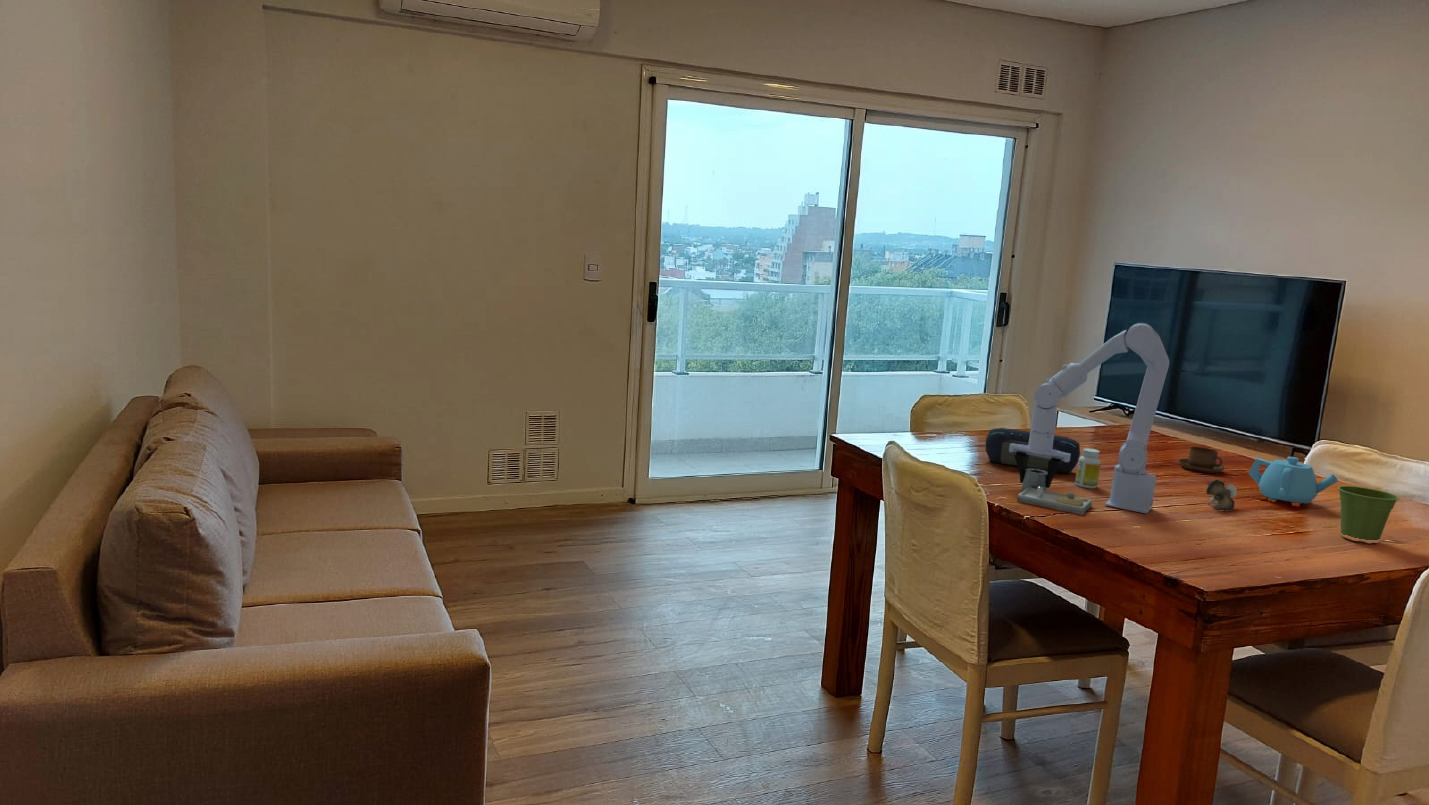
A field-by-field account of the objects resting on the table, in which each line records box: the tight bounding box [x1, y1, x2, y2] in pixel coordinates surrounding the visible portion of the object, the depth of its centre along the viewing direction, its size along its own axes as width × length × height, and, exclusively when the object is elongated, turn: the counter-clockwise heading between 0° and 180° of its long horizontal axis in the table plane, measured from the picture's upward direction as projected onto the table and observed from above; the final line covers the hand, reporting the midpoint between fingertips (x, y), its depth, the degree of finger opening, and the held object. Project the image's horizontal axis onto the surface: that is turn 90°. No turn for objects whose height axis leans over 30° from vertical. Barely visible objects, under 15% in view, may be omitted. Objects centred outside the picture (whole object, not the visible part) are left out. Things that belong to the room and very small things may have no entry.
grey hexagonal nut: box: [1021, 468, 1048, 491], centre depth 243 cm, size 6×6×5 cm
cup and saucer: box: [1178, 446, 1225, 474], centre depth 284 cm, size 12×12×6 cm
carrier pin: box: [1036, 486, 1044, 498], centre depth 234 cm, size 1×1×4 cm
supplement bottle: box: [1074, 447, 1102, 489], centre depth 252 cm, size 5×5×10 cm
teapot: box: [1247, 456, 1339, 504], centre depth 252 cm, size 20×17×12 cm
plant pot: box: [1336, 485, 1401, 540], centre depth 221 cm, size 12×12×11 cm
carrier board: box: [1016, 487, 1093, 516], centre depth 232 cm, size 15×10×3 cm, turn 58°
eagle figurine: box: [1205, 479, 1238, 511], centre depth 242 cm, size 8×8×10 cm
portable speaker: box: [985, 427, 1081, 474], centre depth 269 cm, size 25×10×10 cm, turn 67°
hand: (1035, 484), depth 243 cm, fingers closed on grey hexagonal nut, 6 cm apart
